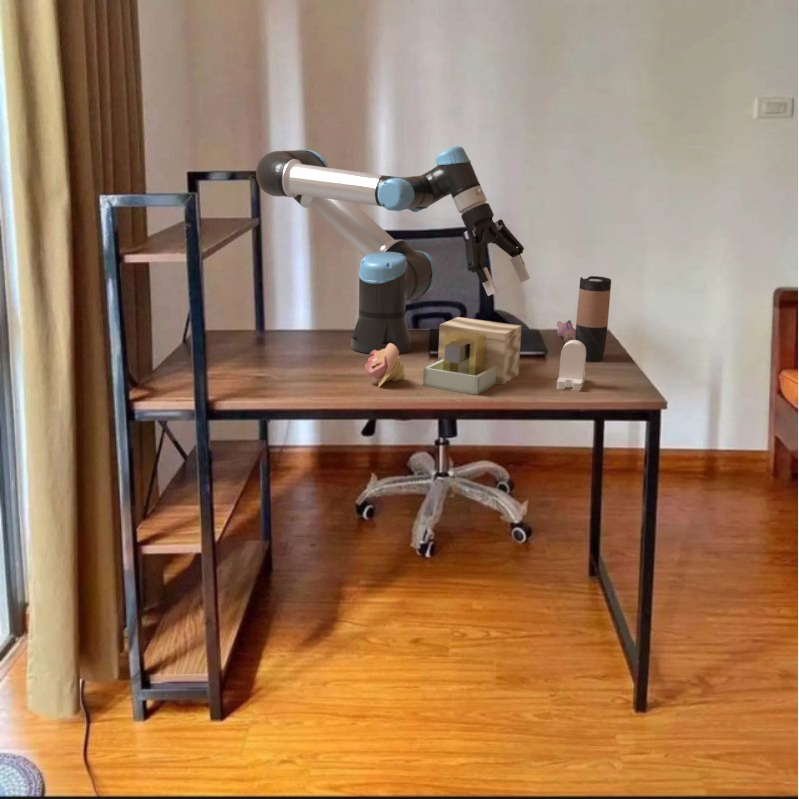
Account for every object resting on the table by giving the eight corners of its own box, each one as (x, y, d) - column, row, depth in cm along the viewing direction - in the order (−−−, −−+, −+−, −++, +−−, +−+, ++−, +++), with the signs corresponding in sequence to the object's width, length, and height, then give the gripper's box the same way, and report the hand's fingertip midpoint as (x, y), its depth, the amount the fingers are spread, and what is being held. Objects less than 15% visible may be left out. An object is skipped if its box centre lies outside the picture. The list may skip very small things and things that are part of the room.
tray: (423, 385, 225) (423, 368, 224) (443, 375, 234) (444, 358, 233) (477, 394, 219) (478, 377, 218) (495, 383, 228) (496, 366, 227)
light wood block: (455, 365, 243) (457, 317, 240) (518, 375, 236) (521, 325, 233) (437, 374, 234) (439, 324, 231) (502, 384, 227) (505, 333, 224)
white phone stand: (584, 380, 233) (588, 338, 230) (580, 392, 224) (584, 347, 221) (561, 378, 235) (565, 336, 232) (556, 389, 225) (559, 345, 223)
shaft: (494, 336, 245) (495, 322, 244) (507, 338, 244) (508, 324, 243) (444, 360, 221) (445, 345, 220) (459, 363, 220) (460, 347, 219)
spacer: (452, 370, 231) (454, 330, 228) (483, 375, 228) (485, 334, 225) (442, 375, 227) (444, 334, 224) (474, 380, 224) (476, 338, 221)
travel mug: (604, 363, 249) (611, 282, 243) (572, 360, 250) (579, 280, 245) (604, 355, 256) (611, 277, 250) (573, 353, 258) (580, 275, 252)
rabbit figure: (583, 350, 268) (572, 328, 281) (585, 329, 265) (575, 308, 278) (559, 349, 267) (550, 328, 281) (562, 328, 265) (552, 307, 278)
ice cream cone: (397, 377, 233) (420, 354, 227) (387, 407, 226) (410, 385, 220) (364, 356, 231) (386, 333, 224) (353, 386, 224) (375, 363, 218)
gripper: (452, 211, 239) (489, 294, 240) (514, 192, 256) (549, 270, 256) (431, 224, 245) (467, 305, 245) (493, 205, 261) (527, 280, 262)
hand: (509, 287), depth 251 cm, fingers open, 13 cm apart
